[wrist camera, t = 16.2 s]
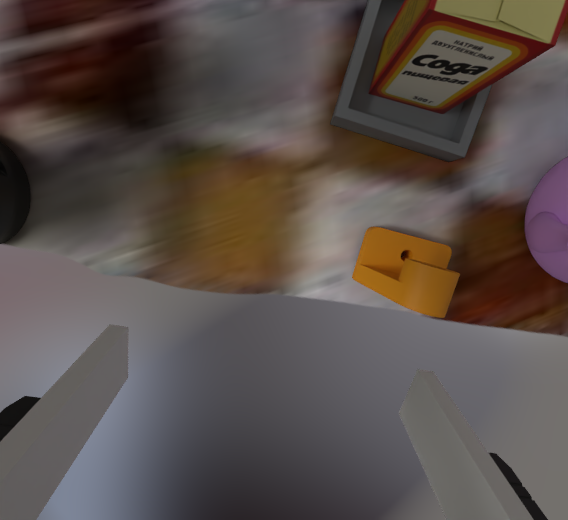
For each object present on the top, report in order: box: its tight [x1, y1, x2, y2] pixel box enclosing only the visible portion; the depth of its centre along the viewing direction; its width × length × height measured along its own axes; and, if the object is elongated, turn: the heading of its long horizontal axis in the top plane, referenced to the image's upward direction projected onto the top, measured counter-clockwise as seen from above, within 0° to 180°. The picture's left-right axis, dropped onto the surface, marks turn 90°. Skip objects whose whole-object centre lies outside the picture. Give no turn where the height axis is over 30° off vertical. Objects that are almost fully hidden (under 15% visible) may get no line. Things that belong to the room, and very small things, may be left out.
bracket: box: [352, 227, 460, 318], centre depth 35 cm, size 11×7×12 cm
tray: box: [330, 0, 492, 162], centre depth 36 cm, size 16×16×4 cm
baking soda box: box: [368, 0, 568, 114], centre depth 29 cm, size 10×6×16 cm
